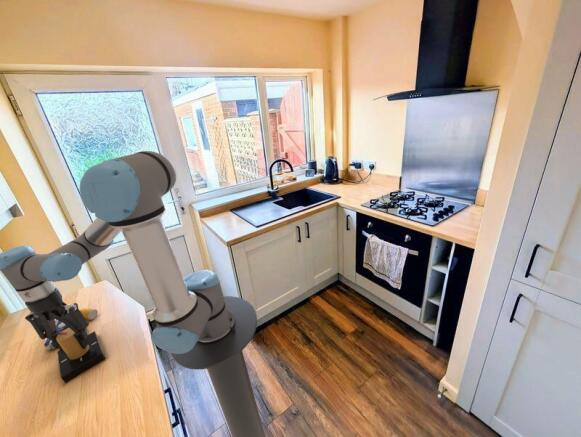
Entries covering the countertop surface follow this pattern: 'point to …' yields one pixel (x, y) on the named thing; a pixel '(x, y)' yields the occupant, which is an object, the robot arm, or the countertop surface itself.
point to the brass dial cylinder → (70, 344)
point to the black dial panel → (81, 359)
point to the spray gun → (60, 326)
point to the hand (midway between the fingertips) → (76, 347)
